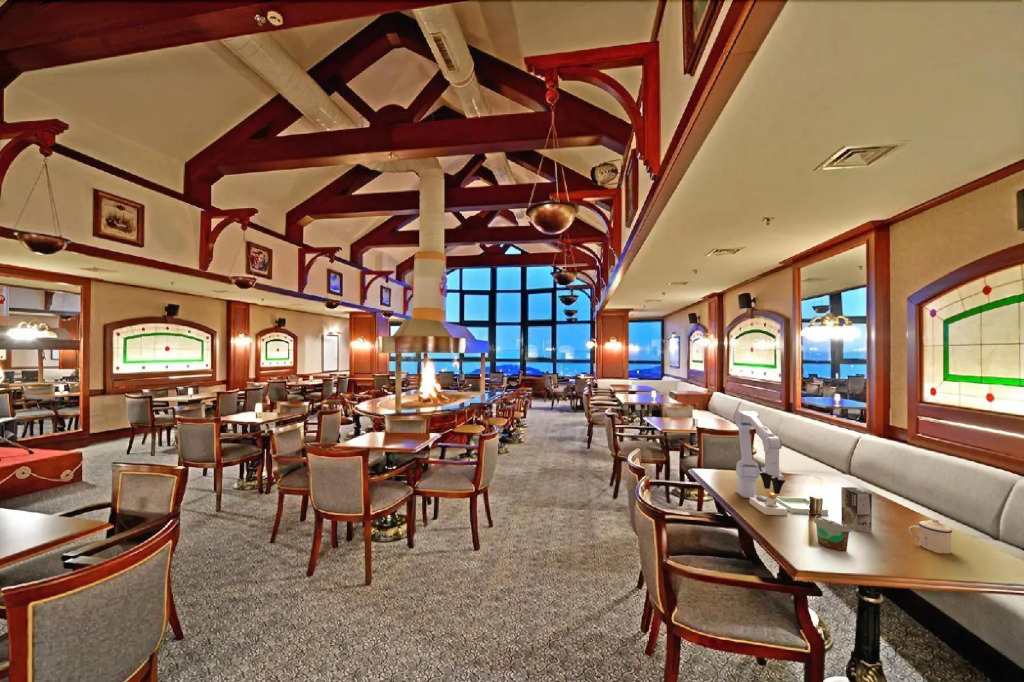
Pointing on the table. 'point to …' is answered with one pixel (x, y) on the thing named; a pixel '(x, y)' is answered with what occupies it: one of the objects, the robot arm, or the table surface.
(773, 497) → the jar
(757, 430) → the robot arm
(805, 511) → the tray
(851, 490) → the coffee box
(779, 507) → the plate
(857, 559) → the table surface
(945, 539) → the teacup with lid
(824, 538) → the food container
